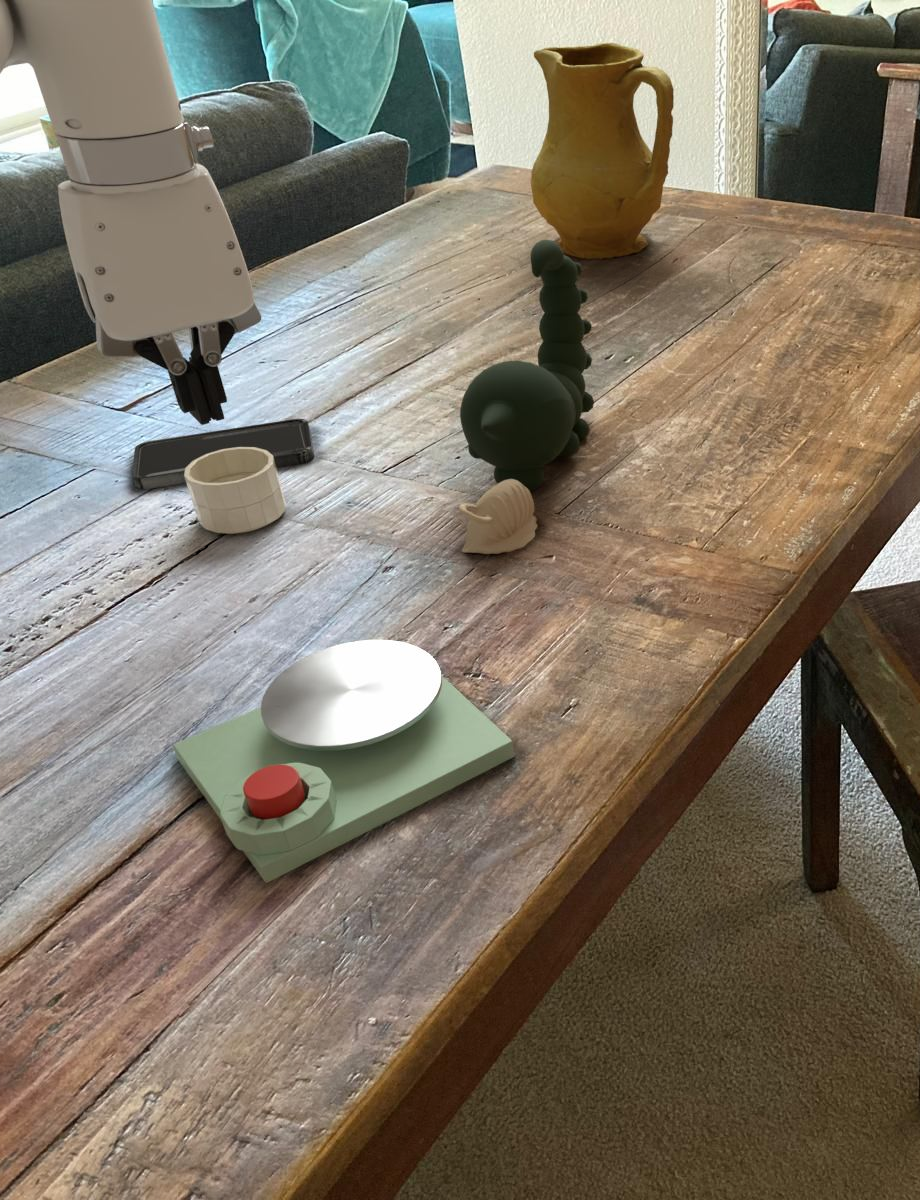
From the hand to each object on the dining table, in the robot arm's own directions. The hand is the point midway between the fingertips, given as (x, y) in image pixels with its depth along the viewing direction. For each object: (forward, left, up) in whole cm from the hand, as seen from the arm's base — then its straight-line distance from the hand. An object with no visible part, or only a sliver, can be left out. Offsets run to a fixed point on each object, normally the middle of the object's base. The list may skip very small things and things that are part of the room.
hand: (206, 415), depth 88 cm
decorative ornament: (+17, -10, -13) cm, 23 cm away
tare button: (-10, -31, -10) cm, 34 cm away
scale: (-4, -27, -13) cm, 30 cm away
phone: (+6, +20, -13) cm, 25 cm away
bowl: (+3, +8, -13) cm, 16 cm away
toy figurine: (+28, +1, -13) cm, 31 cm away
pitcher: (+68, +49, -13) cm, 85 cm away
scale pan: (-2, -25, -10) cm, 27 cm away
